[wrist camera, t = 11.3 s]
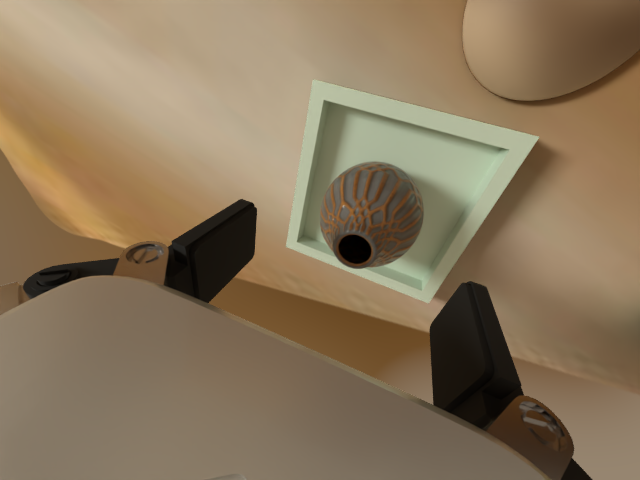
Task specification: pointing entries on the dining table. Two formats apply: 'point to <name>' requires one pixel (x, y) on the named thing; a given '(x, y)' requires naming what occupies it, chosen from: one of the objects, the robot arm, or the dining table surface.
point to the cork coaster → (547, 44)
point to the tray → (418, 162)
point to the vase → (371, 215)
